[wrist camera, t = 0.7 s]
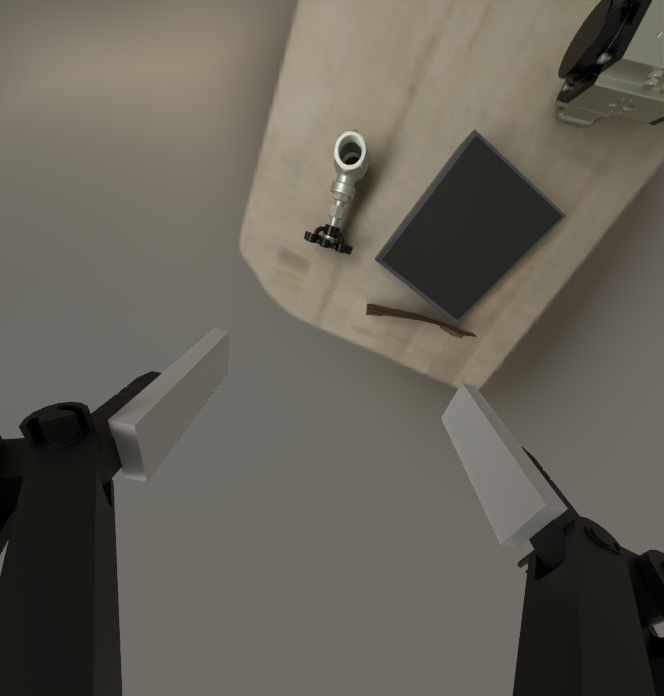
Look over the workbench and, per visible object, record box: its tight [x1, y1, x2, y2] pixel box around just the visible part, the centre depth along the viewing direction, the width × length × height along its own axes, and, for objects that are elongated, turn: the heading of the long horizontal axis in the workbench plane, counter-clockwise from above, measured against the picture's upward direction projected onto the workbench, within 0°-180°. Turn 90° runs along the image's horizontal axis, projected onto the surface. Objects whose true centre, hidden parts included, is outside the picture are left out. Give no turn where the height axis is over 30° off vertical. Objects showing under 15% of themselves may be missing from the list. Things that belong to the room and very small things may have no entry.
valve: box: [304, 130, 370, 255], centre depth 31 cm, size 7×7×12 cm
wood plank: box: [366, 304, 477, 338], centre depth 36 cm, size 15×2×5 cm, turn 77°
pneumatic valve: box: [555, 0, 664, 127], centre depth 22 cm, size 6×12×12 cm, turn 76°
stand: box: [375, 129, 566, 324], centre depth 32 cm, size 16×14×5 cm
